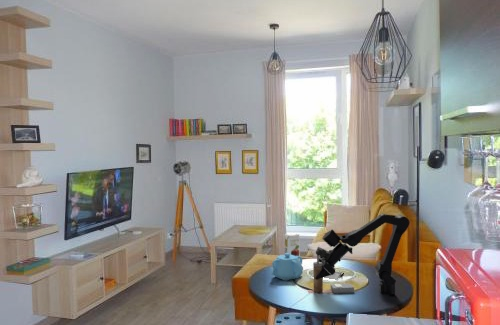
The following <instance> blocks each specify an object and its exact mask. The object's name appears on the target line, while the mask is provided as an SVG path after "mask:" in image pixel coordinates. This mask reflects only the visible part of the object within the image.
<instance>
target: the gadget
mask: <svg viewBox="0 0 500 325" xmlns="http://www.w3.org/2000/svg"><path fill="white" fill-rule="evenodd" d="M339 271H340V270H338V271H335V273H334V274H333V275H331V276H326V277H324V278H329V279H335V280H337V279H338V278H339V277H341V276H342V274H341V273H342V272H339ZM311 276H312V277H314V276H313V272H312V273H311V275H310V277H311ZM310 277H309V279H311V278H310ZM339 279H340V278H339ZM339 279H338V280H339ZM311 280H312V279H311ZM338 280H337V281H338Z"/></svg>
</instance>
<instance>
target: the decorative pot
mask: <svg viewBox="0 0 500 325" xmlns="http://www.w3.org/2000/svg"><path fill="white" fill-rule="evenodd" d="M298 258H300V261H299V259H298ZM271 262H272V264H271V265H272V266H271V267H272V271H271V275H272V276H275V277H276V278H278V279H280V280H283V281H284V282H288V281H289V280H296V279H295V278H298V279H299V278H301V276H302V274H303V271H304V267H303V265H302V264H303V258H302V257H301V255H300V256H294V255H290V253H285V252H284V254H279V255H278V256H277V257H276V259H274V260H272V261H271Z"/></svg>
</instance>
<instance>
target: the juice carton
mask: <svg viewBox="0 0 500 325" xmlns="http://www.w3.org/2000/svg"><path fill="white" fill-rule="evenodd" d="M300 237H301V236H300V234H299V233H297V232H291V233H290V232H289V233H284V238H283V240H284V241H283V242H284V254H285V253H290V255H294V256H300V257H301V245H300V244H301V243H300V242H301V241H300V239H301V238H300ZM298 259H299V261H300V258H298Z"/></svg>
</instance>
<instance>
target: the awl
mask: <svg viewBox="0 0 500 325" xmlns="http://www.w3.org/2000/svg"><path fill="white" fill-rule="evenodd" d="M319 258H320V257H319V256H318V255H316V261H314V262H313V264H312V269H313V272H312V273H313V276H314V279H313V290H314V292H315V293H314V294H323V293H322V292H323V290H324V287H323V286H324V282H323V281H324V280H323V278H320V279H317V280H316V279H315V277H316V276H317V274H318V273H319V272H320V270H321V265H322V264H323V263H322V262H319ZM322 266H323V265H322Z"/></svg>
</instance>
